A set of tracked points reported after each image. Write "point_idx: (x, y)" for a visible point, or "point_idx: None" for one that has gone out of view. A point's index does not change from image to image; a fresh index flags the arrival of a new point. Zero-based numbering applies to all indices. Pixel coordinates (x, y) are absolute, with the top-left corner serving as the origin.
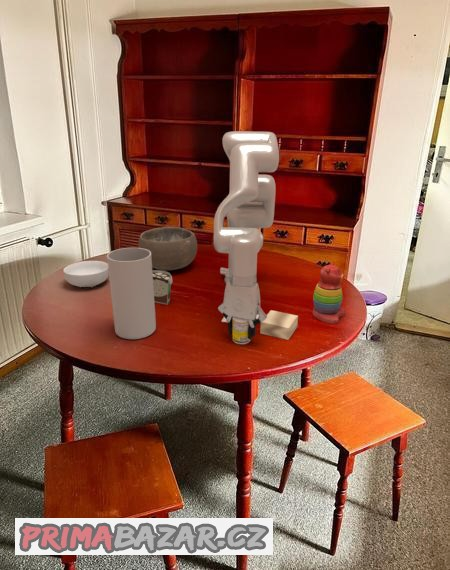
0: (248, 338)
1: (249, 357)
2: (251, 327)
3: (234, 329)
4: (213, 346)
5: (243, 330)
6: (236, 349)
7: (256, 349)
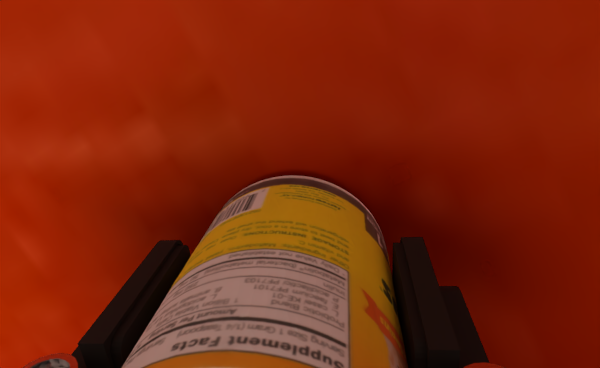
0: (181, 245)
1: (63, 8)
2: (69, 357)
3: (327, 266)
4: (521, 3)
5: (184, 281)
6: (255, 82)
7: (103, 175)
